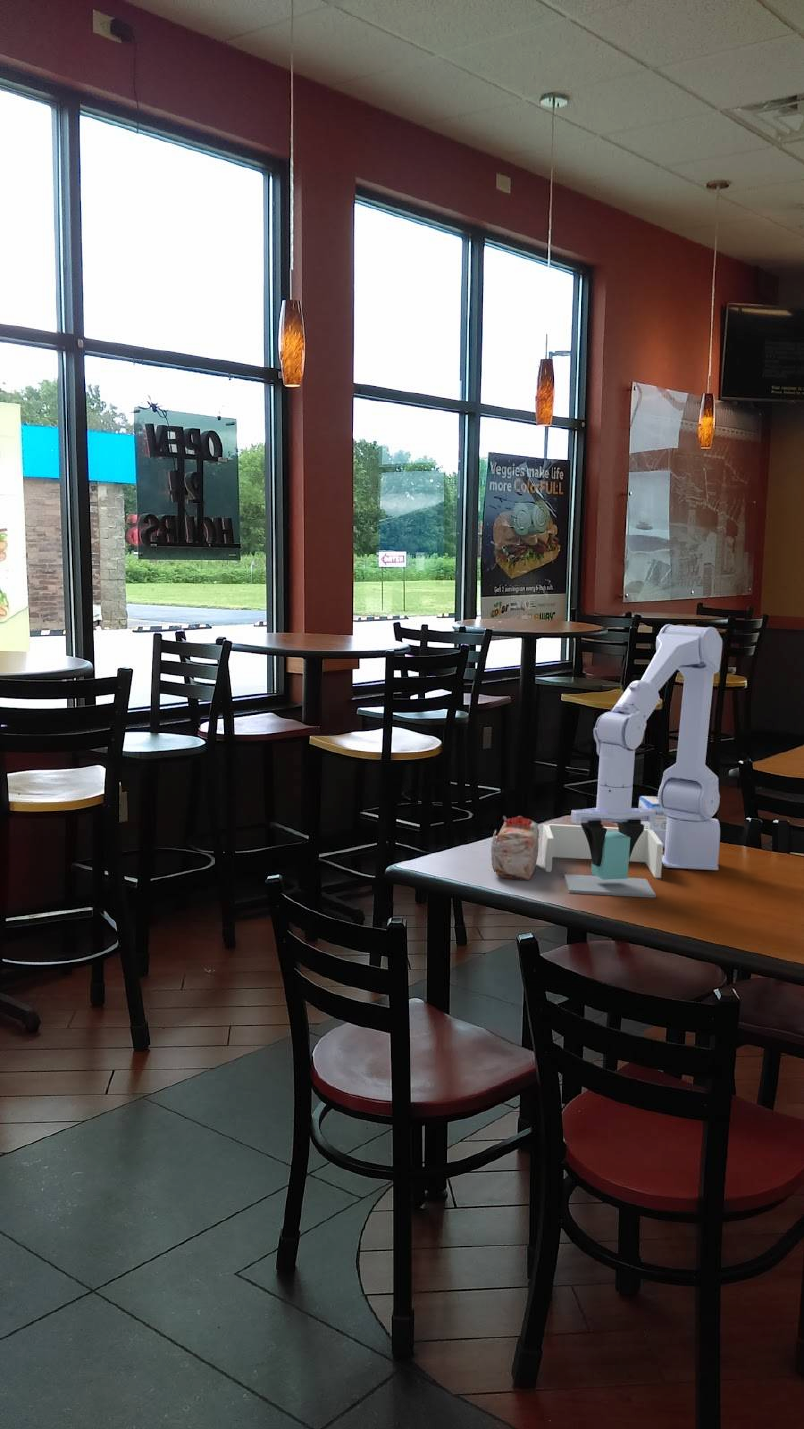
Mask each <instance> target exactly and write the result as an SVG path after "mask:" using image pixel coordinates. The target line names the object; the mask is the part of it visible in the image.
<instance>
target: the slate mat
mask: <svg viewBox="0 0 804 1429" xmlns="http://www.w3.org/2000/svg"><path fill="white" fill-rule="evenodd" d="M563 878H564V881H565V883H566V884H565V885H566V888H567V890H568V893H569V894H581V895H582V894H584V895H585V894H586V895H601V896H602V895H603V896H604V895H605V896H615V897H617V896H618V897H637V898H638V897H639V898H640V897H641V898H656V896H657V895H656V893H655V891H654V890H653V887H652V886H651V885H650V883H649V881H648V879H647V878H637V877H628V879H607V880H603V879H601V878H599V877H598V876H596V875H588V874H587V875H584V874H569V873H567V874H565V873H564V877H563Z"/></svg>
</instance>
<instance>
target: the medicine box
mask: <svg viewBox="0 0 804 1429" xmlns="http://www.w3.org/2000/svg"><path fill="white" fill-rule="evenodd" d="M638 808H640V809H652V810H654V811H655V821H654V822H647V821H641V824H643V825H644V829H652V830H653V831H654V833H655V834H656V835H657V837H658V838H659V839H660V841H661V842H662V844H663V848H665V838H666V824H667V815H664V810H663V809H662V808H661V807H660V804H659V801H658V796H653V795H650V796H649V795H648V796H647V795H641V796H639V798H638Z"/></svg>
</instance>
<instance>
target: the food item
mask: <svg viewBox="0 0 804 1429" xmlns="http://www.w3.org/2000/svg"><path fill="white" fill-rule="evenodd" d="M502 819H503V825H502V826H501V828H500V830H499V832H498V833H497V829H495V830H494V833H493V836H492V842H491V848H490V850H491V851H490V853H491V854H490V855H491V858H490V859H491V866H492V870H493V873H495V874H496V876H499V877H502V878H504V879H505V878H506V879H512V878H514V879H513V880H520V879H521V881H522V880H523V881H529V880H531V878H532V876H533V873H534V872H535V868H536V866H537V861H538V857H539V845H540V844H539V838H540V830H539V823H537V822H535V821H534V820H532V819H530V818H526V817H524V816H522V815H518V816H515V817H511V818H510V817H509V818H507V817H506V815H503V816H502ZM496 835H497V837H496Z"/></svg>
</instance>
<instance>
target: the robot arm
mask: <svg viewBox="0 0 804 1429" xmlns="http://www.w3.org/2000/svg"><path fill="white" fill-rule="evenodd" d="M655 640H656V641H655V650H656V652H655V654H654V655H653V657H652V659H651V661H650V662H649V664H648V666H647V668H646V669H645V672H644V674H643V675H642V677H641V679H640V680H633V681H632V682H630V683H629V685H628V686H627V688H626V689H625V691H624V692H623V693H622V695H621V696H620V698H619V699H618V700H617V702H616V704H614V706H613V708H612V709H611V710H610V711H607V712H604V713H603V714H601V715H600V716H599V717H598V718H597V720H596V722H595V726H594V728H593V739H594V741H595V743H596V744H595V745H596V754H597V755H598V756H599V761H598V774H597V794H596V805H595V806H596V807H592V808H583V809H572V810H571V813H570V822H571V823H573V824H575V825H580V826H582V828H583V831H584V833H585V835H586V838H587V841H588V844H589V848H590V852H591V858H592V859H591V865H592V864H594V865H596V866H601V861H602V853H603V844H604V839H605V835H606V832H607V829H606V828H604V827H605V826H603V825H604V824H602V823H617V828H618V829H619V832H620V833H622V834H624V835H626V836H628V837H630V849H629V859H630V856H631V853H632V850H633V848H634V846H635V844H636V842H637V840H638V838H639V837H640V835H641V834H642V832H643V831H644V825H643V824H641V821H647V822H654V821H655V811H654V810H652V809H640V808H639V807H638V808H637V807H632V802H633V801H632V800H633V789H634V788H633V784H634V772H635V771H634V770H635V758H636V757H635V756H636V755H635V754H636V749H637V748H638V747H639V746H640V745H641V744H642V742H643V739H644V736H645V730H646V728H647V725H648V724H647V720H648V719H649V717H650V716H651V715H652V713H653V712H654V710H655V709H656V708H657V705H659V703H660V699H661V698H660V694H659V691H660V690H661V689H662V688H663V686H664V685H665V684H666V682H668V680H669V679H670V678H671V677H672V676H673V674H674V673H675V672H676V671H679V673H680V674H681V675H682V677H683V688H682V689H683V690H682V698H681V708H680V709H681V710H680V718H679V720H680V721H679V730H678V742H677V751H676V760H675V761H676V762H675V763H674V764H673V765H671V766H670V767H668V768H666V769H665V770H664V771H663V773H662V774H663V775H662V779H661V783H660V785H659V789H658V793H657V797H658V801H659V804H660V807H661V808H662V809H663V810H664V815H667V824H666V838H665V847H664V851H663V852H664V854H662V865H664V867H665V868H667V869H668V868H671V869H685V870H686V869H688V870H705V871H719V854H720V841H721V827H720V826H721V825H720V821H719V819H717V818H712V817H713V816H714V815H715V814H716V813H717V811H718V810H719V806H720V803H721V802H720V798H721V794H720V791H719V777H718V775H716V773H714V772H713V771H712V770H711V769H710V768H709V766H707V765H706V760H707V759H706V757H707V749H708V748H707V747H708V739H709V737H708V736H709V728H710V719H711V717H710V715H711V708H712V698H713V697H712V696H713V686H714V677H715V674H717V673H719V672H720V668H721V661H722V660H721V659H722V653H723V652H722V650H723V639H722V637H721V634H720V633H719V632H718V630H717V629H716V627H713V626H707V627H702V626H689V625H687V626H686V625H674V624H670V623H668V624H665V625H664V626H663V627H661V629H660V631H659V633H658V635H657V636H656V639H655Z"/></svg>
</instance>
